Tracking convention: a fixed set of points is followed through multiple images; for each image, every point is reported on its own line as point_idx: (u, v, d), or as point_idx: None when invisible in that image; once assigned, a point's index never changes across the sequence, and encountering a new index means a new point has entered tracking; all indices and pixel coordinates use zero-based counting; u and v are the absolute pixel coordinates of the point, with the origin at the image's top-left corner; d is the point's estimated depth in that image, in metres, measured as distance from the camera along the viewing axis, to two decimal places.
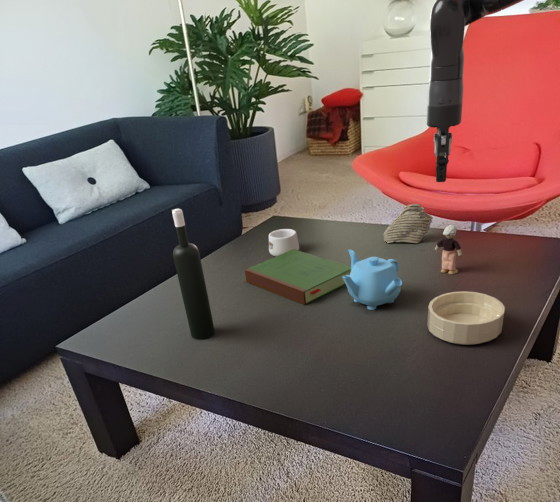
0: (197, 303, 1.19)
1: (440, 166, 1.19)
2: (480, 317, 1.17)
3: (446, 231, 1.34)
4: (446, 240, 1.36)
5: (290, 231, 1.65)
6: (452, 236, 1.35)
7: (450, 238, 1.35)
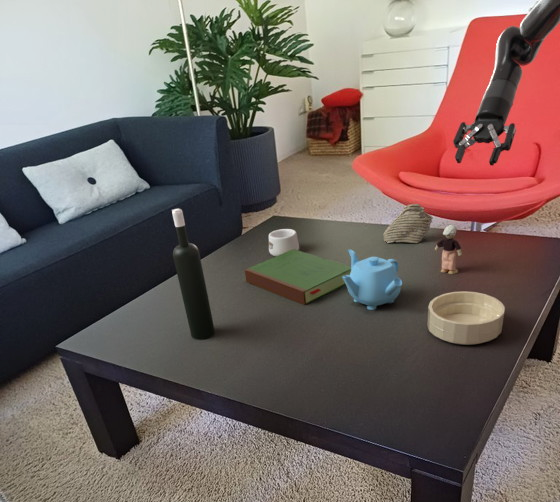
0: (197, 303, 1.19)
1: None
2: (480, 317, 1.17)
3: (446, 231, 1.34)
4: (446, 240, 1.36)
5: (290, 231, 1.65)
6: (452, 236, 1.35)
7: (450, 238, 1.35)
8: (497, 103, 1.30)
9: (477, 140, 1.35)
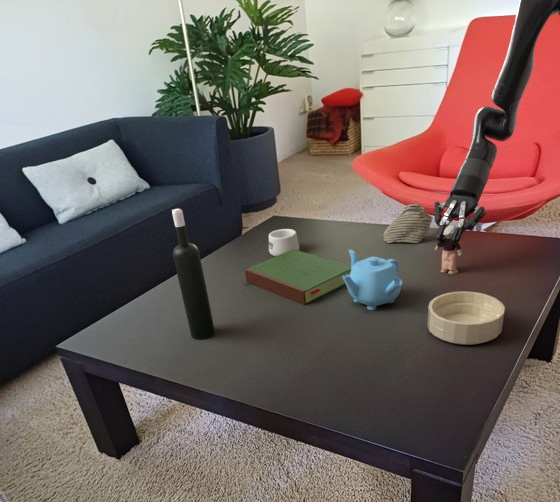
0: (197, 303, 1.19)
1: None
2: (480, 317, 1.17)
3: (446, 231, 1.34)
4: (446, 240, 1.36)
5: (290, 231, 1.65)
6: (452, 236, 1.35)
7: (450, 238, 1.35)
8: (470, 181, 1.32)
9: (451, 215, 1.36)
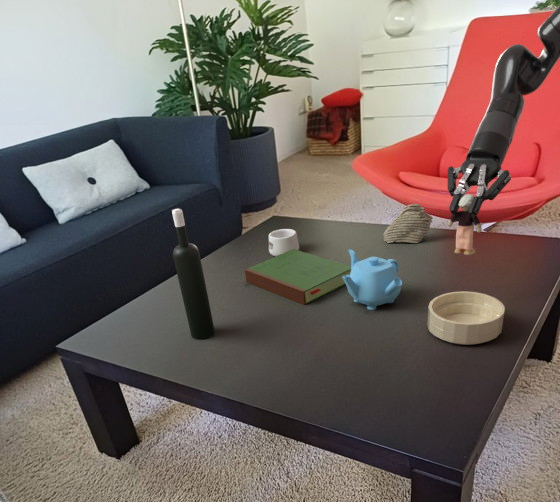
0: (197, 303, 1.19)
1: None
2: (480, 317, 1.17)
3: (462, 202, 1.10)
4: (462, 213, 1.12)
5: (290, 231, 1.65)
6: (469, 208, 1.10)
7: (467, 210, 1.11)
8: (492, 139, 1.08)
9: (468, 183, 1.12)
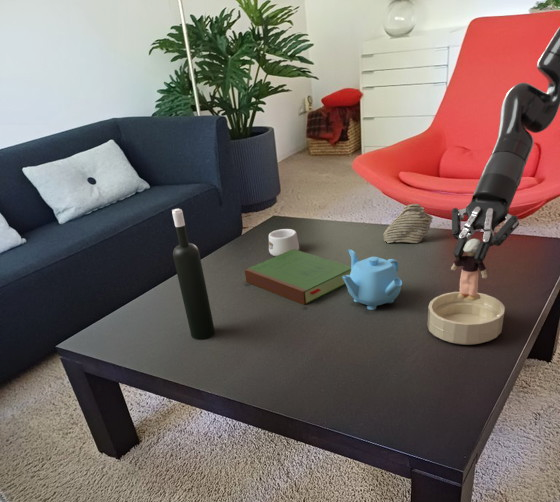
0: (197, 303, 1.19)
1: None
2: (480, 317, 1.17)
3: (468, 247, 1.04)
4: (467, 258, 1.06)
5: (290, 231, 1.65)
6: (475, 253, 1.05)
7: (472, 256, 1.05)
8: (499, 182, 1.02)
9: (473, 226, 1.06)
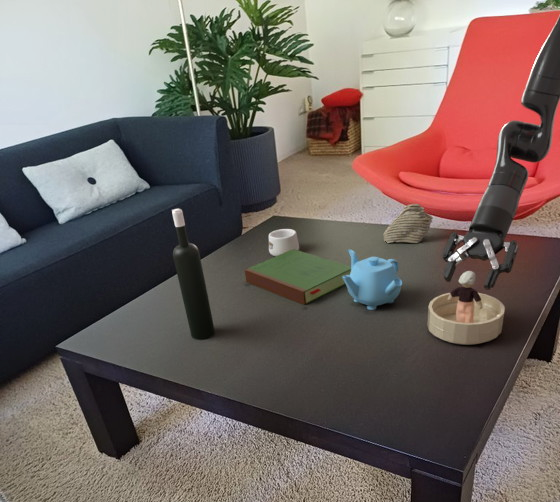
0: (197, 303, 1.19)
1: None
2: (480, 317, 1.17)
3: (463, 279, 1.08)
4: (463, 289, 1.10)
5: (290, 231, 1.65)
6: (470, 285, 1.09)
7: (468, 287, 1.09)
8: (495, 215, 1.05)
9: (471, 256, 1.09)
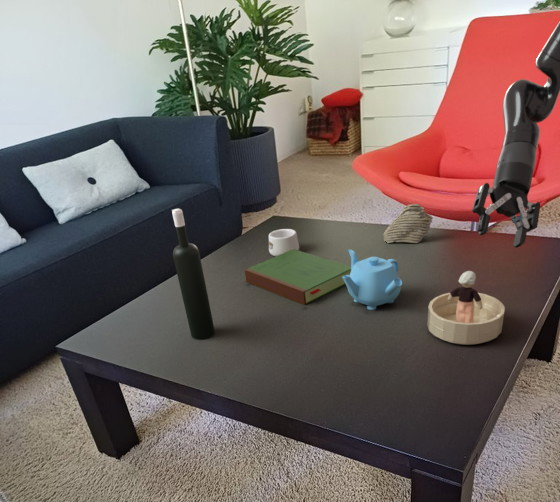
0: (197, 303, 1.19)
1: (480, 216, 1.11)
2: (480, 317, 1.17)
3: (463, 279, 1.08)
4: (463, 289, 1.10)
5: (290, 231, 1.65)
6: (470, 285, 1.09)
7: (468, 287, 1.09)
8: (529, 174, 1.10)
9: (500, 211, 1.12)
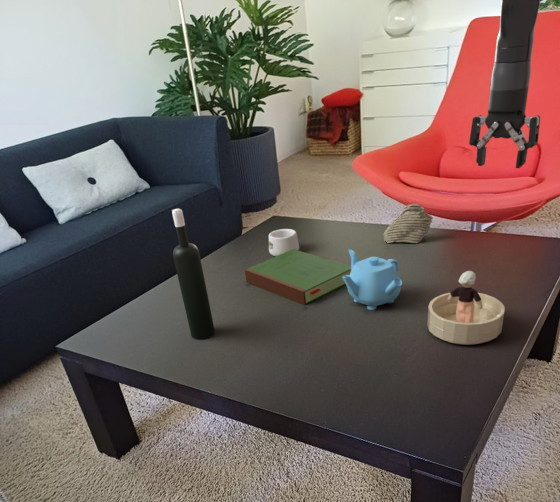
0: (197, 303, 1.19)
1: (526, 150, 1.14)
2: (480, 317, 1.17)
3: (463, 279, 1.08)
4: (463, 289, 1.10)
5: (290, 231, 1.65)
6: (470, 285, 1.09)
7: (468, 287, 1.09)
8: None
9: None
